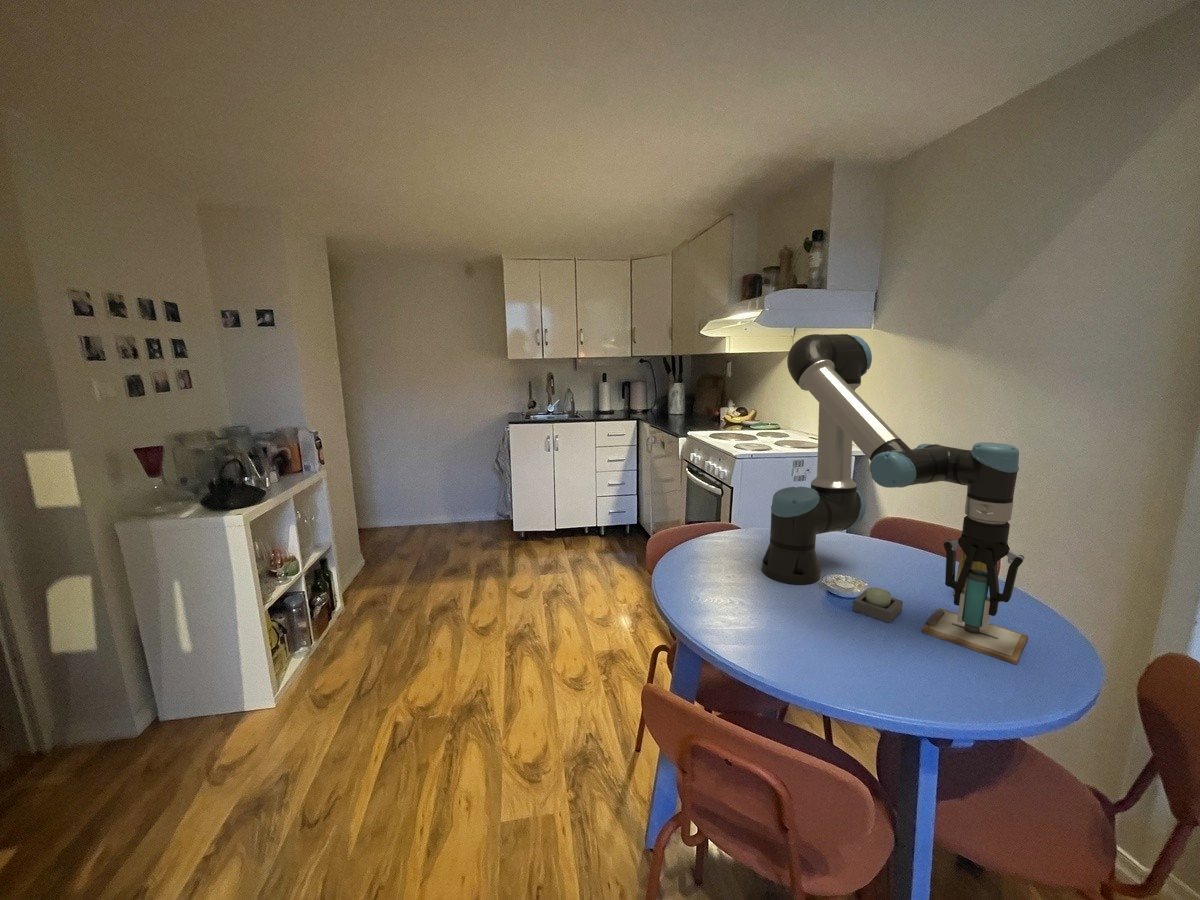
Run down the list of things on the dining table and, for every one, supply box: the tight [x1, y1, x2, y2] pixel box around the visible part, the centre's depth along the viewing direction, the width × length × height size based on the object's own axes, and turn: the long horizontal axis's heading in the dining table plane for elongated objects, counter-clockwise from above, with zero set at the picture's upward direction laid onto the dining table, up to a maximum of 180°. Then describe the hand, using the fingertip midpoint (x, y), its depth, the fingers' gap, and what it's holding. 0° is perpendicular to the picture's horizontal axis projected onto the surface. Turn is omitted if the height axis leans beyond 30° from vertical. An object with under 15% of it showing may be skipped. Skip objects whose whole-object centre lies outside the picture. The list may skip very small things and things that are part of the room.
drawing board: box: [921, 607, 1029, 666], centre depth 106 cm, size 16×13×1 cm
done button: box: [866, 586, 892, 609], centre depth 116 cm, size 5×5×3 cm
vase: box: [952, 547, 987, 596], centre depth 121 cm, size 6×6×14 cm
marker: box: [963, 569, 989, 633], centre depth 105 cm, size 4×4×13 cm
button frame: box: [852, 589, 904, 624], centre depth 117 cm, size 8×8×2 cm
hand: (972, 623), depth 106 cm, fingers closed on marker, 3 cm apart
